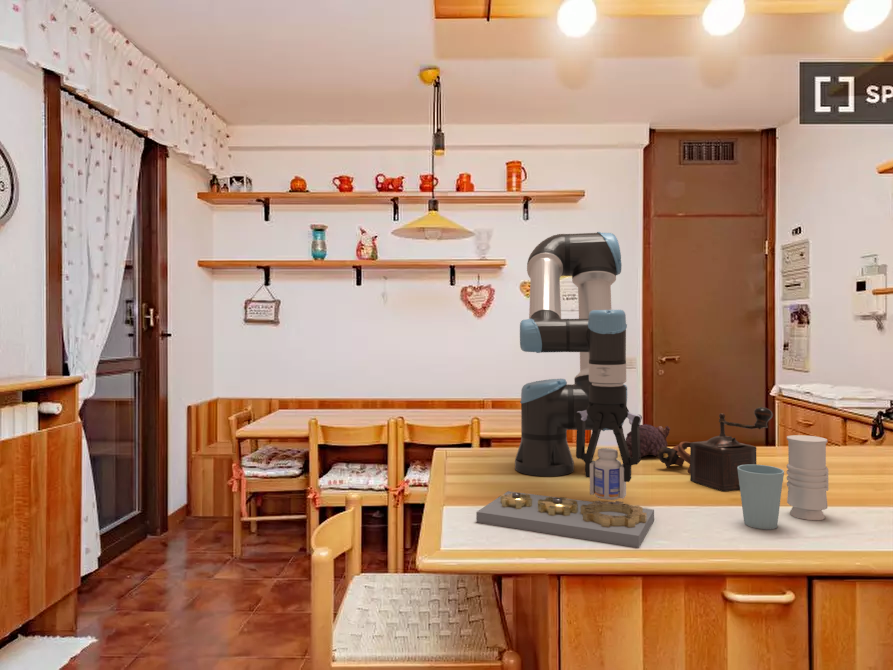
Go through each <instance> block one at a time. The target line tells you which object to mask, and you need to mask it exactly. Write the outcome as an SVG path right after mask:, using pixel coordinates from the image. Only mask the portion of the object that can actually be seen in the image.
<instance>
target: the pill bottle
mask: <svg viewBox="0 0 893 670" xmlns="http://www.w3.org/2000/svg"><path fill="white" fill-rule="evenodd" d="M597 457H598V458H597V459H596V460H594V461H595V494H594V496H595V497H597V498H599V499H600V500H601V499H603V500H609V501H615V500H619V499H621V498H620V466H621V465H622V463H621V462H622V461H620V460H619V459H618V457H619V453H618V450H617V449H615V448H611V447H610V448H609V447H605V448H604V447H602V448H599V449H597Z"/></svg>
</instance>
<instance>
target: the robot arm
mask: <svg viewBox="0 0 893 670" xmlns="http://www.w3.org/2000/svg"><path fill="white" fill-rule="evenodd" d="M619 243H620V242H619V240H618V238H617V236H616V235H615V234H614V233H612V232H600V231H597V232H586V233H585V232H584V233H557V234H555V235H554V234H553V235H551V236H549V237H547V238H546V239H544V240H542V241H541V242H540V243H538V244H537V245H536V246H535V247H534V249H533V250H532V251H531V253H530V255H529V257H528V258H527V263H526V264H527V265H526V271H527V276H528V277H529V279H530V284H529V286H530V289H529V309H528V311H529V313H528V315H529V317H528V319H523V320H520V322H519V323H520V324H519V345H520V346H519V347H520V350H522V351H523V352H524V353H527V352H528V353H536V354H540V353H579V369H580V370H579V372H578V373H577V375H576V376H574V378H573V379H574V384H568V382H567V381H566V379H565V378H551V379H550V378H549V379H542V380H536V381H531V382H527V383H526V384H524V385H522V387H521V394H520V404H521V406H520V408H521V410H520V411H521V412H520V414H521V415H520V418H521V419H520V421H521V423H520V426H521V429H520V430H521V439H520V443H519V447H518V450H517V452H516V456H515V458H514V459H515V460H514V470H515V471H516V472H518V473H521V474H525V475H529V476H534V477H535V476H536V477H558V476H565V475H568V474H572V473H573V472H574V471H575V463H574V459H573V455H572V453H571V450H570V446H569V444H568V438H567V431H570V430H571V431H576V439H575V440H576V441H575V443H576V445H575V446H576V447H575V449H576V450H575V457H576V459H578V460H581V461H583V462H584V475H585V477H586V478H589V495H590V496H591V495H593V496H595V461H596V460H594V457H595V453H596V449H597V446H598V442H599V440H600V439H599V438H600V435H601V432H605V431H612V433H613V434H614V437H615V441H616V444H617V448H618V450H619V454H620V457H621V460H622V461H621V462H622V463H621V466H620V498H619V499H623V500H624V499H625V497H626V496H627V483H630V482H631V480H632V466H637V465H638V464H639V463H640V462H641V459H642V457H641V456H640V432H639V425H641V422H642V419H643V417H642V415H641V414H636V413H631V412H630V411H629V408H628V407H627V406H628V386H627V385H626V384H625V383H626V382H627V353H626V351H627V328H628V324H627V320H626V315H627V314H626V312H625V311H624V310H623V309H612V290H611V286H612V285H613V284H614V283H615V282H616V280H617V276H618V275H620V274H621V273H622V266H623V265H622V254H621V253H622V252H621V248H620V244H619ZM561 277H571V278H572V279H571V280H572V282H571V283H572V284H573V285H574V286H576V287H577V294H578V295H577V298H578V302H577V303H578V318H562V309H561V307H562V306H561V305H562V304H561V284H560V283H561V282H560V280H561V279H560V278H561ZM626 419H628V423H629V424H630V425H631V426H630V431H631V442H632V457H630V454H629V450H628V447H627V444H626V437H625V434H624V428H623V425H624V423H625V420H626ZM586 431H591V435H590V438H589V443H588V446H587V450H586ZM585 451H586V452H585Z"/></svg>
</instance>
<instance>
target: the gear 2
mask: <svg viewBox="0 0 893 670" xmlns="http://www.w3.org/2000/svg"><path fill="white" fill-rule="evenodd" d="M592 502H593V503H592V504H588V505H582V506H581V514H583V520H585V521H586V522H590V521H592V522H595V523H598V524H602V526H604V527H610V526H626V527H628V528H630V527H635V524H638V523H640V522H642V523H646V521H647V513H643V508H644V507H642V506H640V505H632V504H628V503H625V502H624V501H619V500H616V501H602V500H601V501H600V500H595V501H592ZM605 511H613V512H621V513H625V514H628V515H625V516H612V515H604V514H601V513H599V512H605Z"/></svg>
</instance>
